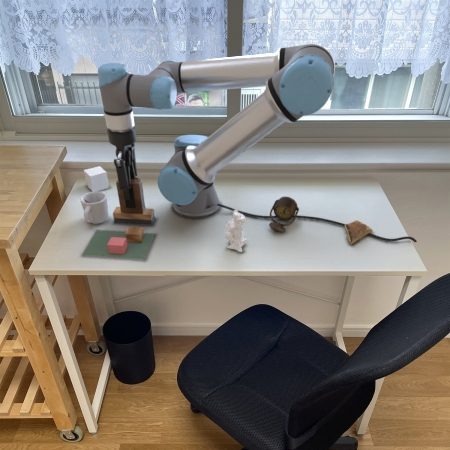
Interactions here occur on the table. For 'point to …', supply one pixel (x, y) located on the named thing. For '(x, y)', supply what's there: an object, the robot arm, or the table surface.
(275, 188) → the table surface
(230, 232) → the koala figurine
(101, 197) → the cup
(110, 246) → the eraser block
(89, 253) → the desk mat
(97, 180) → the white cube
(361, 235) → the shard
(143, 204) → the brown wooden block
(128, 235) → the cork block
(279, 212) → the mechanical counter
